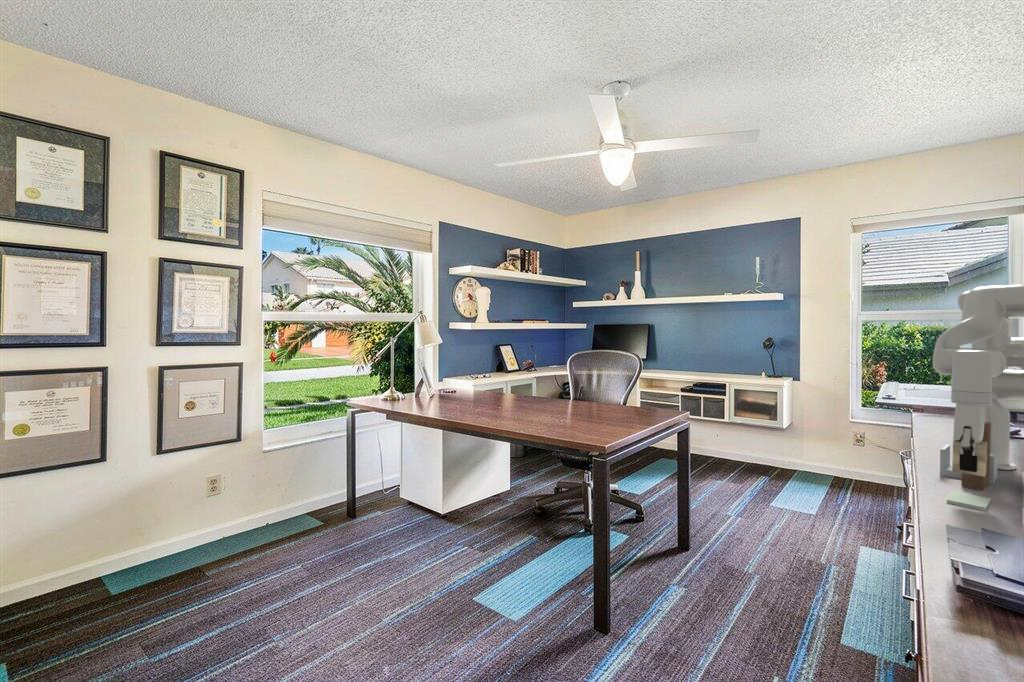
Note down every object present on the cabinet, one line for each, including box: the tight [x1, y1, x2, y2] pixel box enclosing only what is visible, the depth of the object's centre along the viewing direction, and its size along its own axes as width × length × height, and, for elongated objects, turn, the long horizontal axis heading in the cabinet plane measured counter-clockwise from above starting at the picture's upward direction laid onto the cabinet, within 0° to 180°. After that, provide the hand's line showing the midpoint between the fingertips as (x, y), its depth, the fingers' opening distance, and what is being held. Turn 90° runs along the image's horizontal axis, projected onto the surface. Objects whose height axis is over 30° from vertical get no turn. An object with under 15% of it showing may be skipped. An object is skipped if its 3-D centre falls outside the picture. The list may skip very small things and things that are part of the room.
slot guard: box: [939, 443, 998, 485], centre depth 146 cm, size 10×12×8 cm
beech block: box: [951, 439, 987, 477], centre depth 124 cm, size 4×6×8 cm, turn 41°
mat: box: [946, 491, 992, 512], centre depth 124 cm, size 10×7×1 cm
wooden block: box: [960, 422, 991, 491], centre depth 137 cm, size 9×4×18 cm, turn 127°
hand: (969, 468), depth 124 cm, fingers closed on beech block, 4 cm apart
